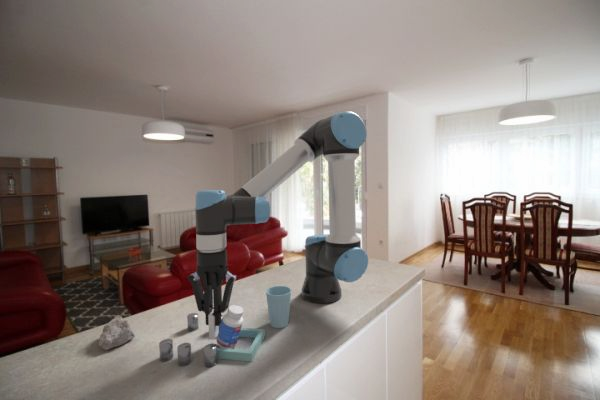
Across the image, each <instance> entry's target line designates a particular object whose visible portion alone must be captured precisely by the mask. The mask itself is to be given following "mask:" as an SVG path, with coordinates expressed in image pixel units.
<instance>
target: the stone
mask: <svg viewBox="0 0 600 400" xmlns="http://www.w3.org/2000/svg"><path fill="white" fill-rule="evenodd" d="M135 337H136V336H135V333H134V332H133V330H132V328H131V326H130V324H129V321H128V320H126V319H125V320H124V319H123V317H122V315H119V314H117V315H116V316H115V317H114V318H112V319H111V320H110V321H109V322H108V323H106V324H104V326H103V329H102V333H100V335H99V342H98V345H99V346H100V347H101V348H102V349H103V350H104V351H109V350H111V349H112V348H117V347H119V346H122V345H124V344H125V343H127V342H130V341H132V339H134V338H135Z"/></svg>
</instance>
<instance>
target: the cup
mask: <svg viewBox="0 0 600 400" xmlns="http://www.w3.org/2000/svg"><path fill="white" fill-rule="evenodd" d="M265 295H266V303H267V304H266V305H267V310H268V318H269V323H270V327H272V328H275V329H283V328H285V327H287V326H288V325H289V318H290V309H291V308H290V307H291V299H292V298H291V297H292V289H291V288H290V287H289V286H285V285H275V286H271V287H269V288H267V289H266V290H265Z"/></svg>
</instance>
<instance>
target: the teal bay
mask: <svg viewBox="0 0 600 400" xmlns="http://www.w3.org/2000/svg"><path fill="white" fill-rule="evenodd" d="M265 337H266V329H265V328H251V327H241V330H240V334H239V337H238V338H248V339H249V338H251V339H254V340H253V342H252V344H251V345H250V347H249V349H240V348H239V349H238V348H231V349H228V348H221V347H217V360H219V359H221V360H230V361H231V360H232V361H241V362H242V361H243V362H253V360H254V358H255V356H256V354H257V352H258V351H259V348H260V347H261V345H262V342H263V341H264V339H265Z"/></svg>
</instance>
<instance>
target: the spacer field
mask: <svg viewBox="0 0 600 400" xmlns="http://www.w3.org/2000/svg"><path fill="white" fill-rule="evenodd" d="M223 316H224V314H221V320H222V319H223ZM186 318H187V323H186V324H187V331H189V332H194V331H197V330H198V329H199V313H197V312H192V313H189V314H188V315H187V316H186ZM221 323H222V322H221ZM220 326H221V324H220V325H219V329H220ZM173 341H174V340H173V339H172V338H166V339H162V340H161V341H160V342H159V343H158V345H159V361H160V362H168V361H170V360H172V359H173V358H174V342H173ZM217 348H218V344H217V343H207V344H206V345H204V347H203V363H204V367H206V368H212V367H215V366H216V365H217V364H218V358H217ZM176 352H177V364H178V366H179V367H185V366H189V364H191V362H192V345H191V343H190V342H183V343H180V344H179V345H178V346H177V351H176Z"/></svg>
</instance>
